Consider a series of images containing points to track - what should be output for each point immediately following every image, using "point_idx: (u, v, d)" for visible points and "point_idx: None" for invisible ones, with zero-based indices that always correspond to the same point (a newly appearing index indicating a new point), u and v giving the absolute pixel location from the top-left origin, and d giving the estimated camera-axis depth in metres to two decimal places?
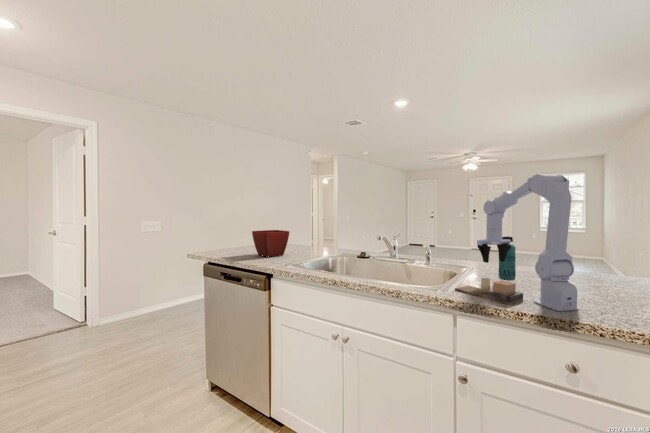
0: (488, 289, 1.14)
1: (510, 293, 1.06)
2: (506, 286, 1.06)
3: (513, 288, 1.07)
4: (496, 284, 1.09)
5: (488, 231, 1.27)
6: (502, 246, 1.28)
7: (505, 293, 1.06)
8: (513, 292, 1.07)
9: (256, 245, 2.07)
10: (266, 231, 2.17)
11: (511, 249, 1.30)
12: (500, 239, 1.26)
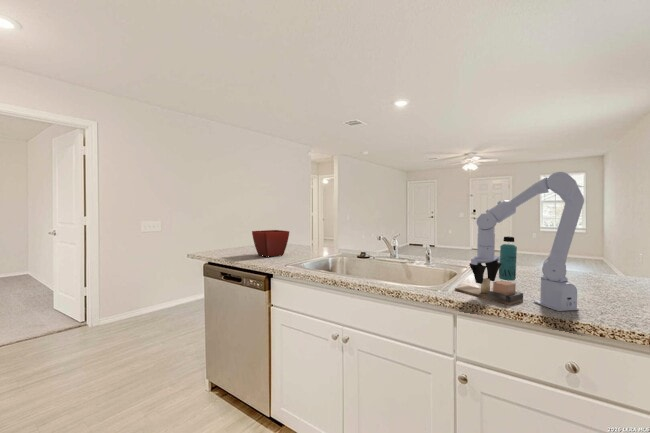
0: (488, 289, 1.14)
1: (510, 293, 1.06)
2: (506, 286, 1.06)
3: (513, 288, 1.07)
4: (496, 284, 1.09)
5: (481, 248, 1.13)
6: (492, 264, 1.16)
7: (505, 293, 1.06)
8: (513, 292, 1.07)
9: (256, 245, 2.07)
10: (266, 231, 2.17)
11: (512, 249, 1.30)
12: (493, 257, 1.13)
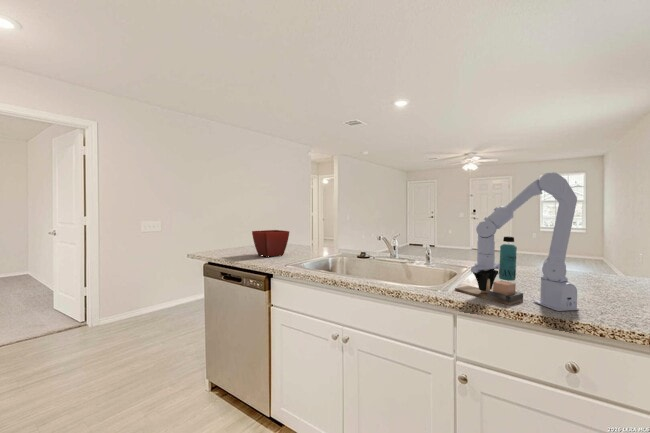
0: (488, 289, 1.14)
1: (510, 293, 1.06)
2: (506, 286, 1.06)
3: (513, 288, 1.07)
4: (496, 284, 1.09)
5: (481, 256, 1.13)
6: (489, 272, 1.15)
7: (505, 293, 1.06)
8: (513, 292, 1.07)
9: (256, 245, 2.07)
10: (266, 231, 2.17)
11: (512, 249, 1.30)
12: (493, 265, 1.13)
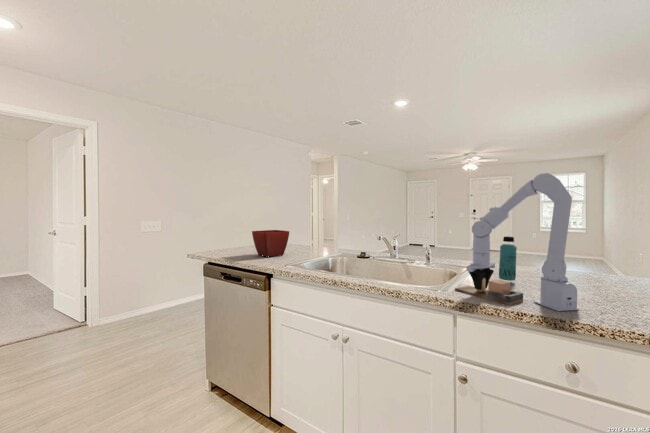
0: (483, 288, 1.15)
1: (505, 292, 1.08)
2: (501, 285, 1.07)
3: (508, 287, 1.09)
4: (491, 283, 1.10)
5: (476, 255, 1.15)
6: (484, 271, 1.17)
7: (500, 292, 1.08)
8: (508, 291, 1.09)
9: (256, 245, 2.07)
10: (266, 231, 2.17)
11: (512, 249, 1.30)
12: (489, 264, 1.14)
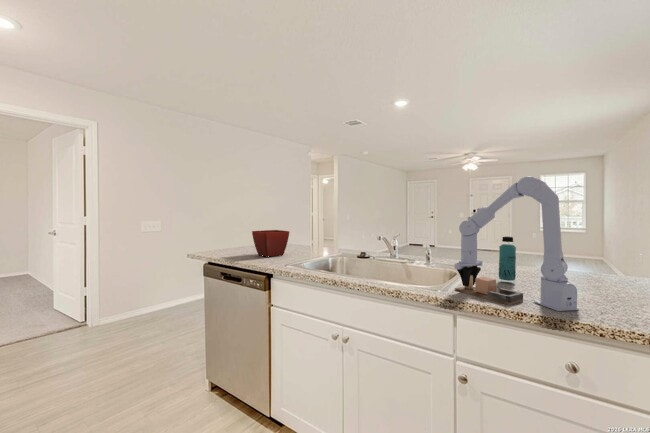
0: (471, 285, 1.20)
1: (491, 288, 1.12)
2: (487, 282, 1.12)
3: (494, 284, 1.13)
4: (478, 280, 1.15)
5: (464, 253, 1.19)
6: (472, 269, 1.21)
7: (486, 288, 1.12)
8: (494, 287, 1.13)
9: (256, 245, 2.07)
10: (266, 231, 2.17)
11: (511, 249, 1.30)
12: (476, 262, 1.19)
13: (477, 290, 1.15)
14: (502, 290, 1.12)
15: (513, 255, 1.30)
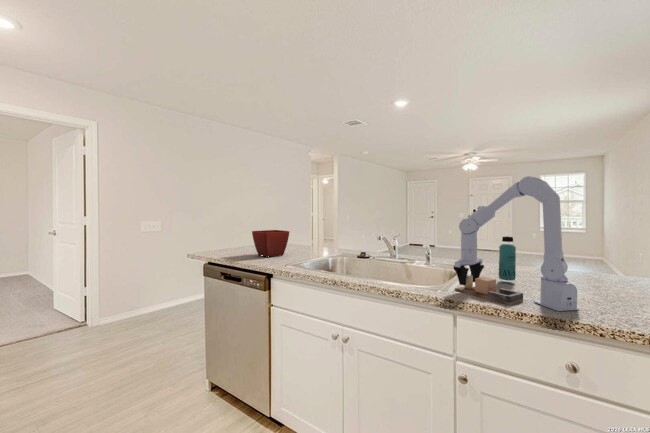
0: (471, 285, 1.20)
1: (491, 288, 1.12)
2: (487, 282, 1.12)
3: (493, 284, 1.13)
4: (478, 280, 1.15)
5: (464, 251, 1.19)
6: (475, 266, 1.22)
7: (486, 288, 1.12)
8: (494, 287, 1.13)
9: (256, 245, 2.07)
10: (266, 231, 2.17)
11: (511, 249, 1.30)
12: (476, 260, 1.19)
13: (477, 290, 1.15)
14: (502, 290, 1.12)
15: (513, 255, 1.30)
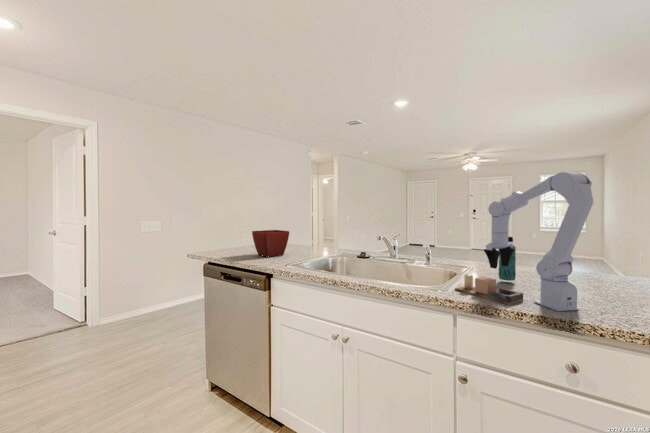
0: (471, 285, 1.20)
1: (491, 288, 1.12)
2: (487, 282, 1.12)
3: (493, 284, 1.13)
4: (478, 280, 1.15)
5: (495, 234, 1.18)
6: (506, 250, 1.21)
7: (486, 288, 1.12)
8: (494, 287, 1.13)
9: (256, 245, 2.07)
10: (266, 231, 2.17)
11: None
12: (507, 243, 1.18)
13: (477, 290, 1.15)
14: (502, 290, 1.12)
15: (513, 255, 1.30)
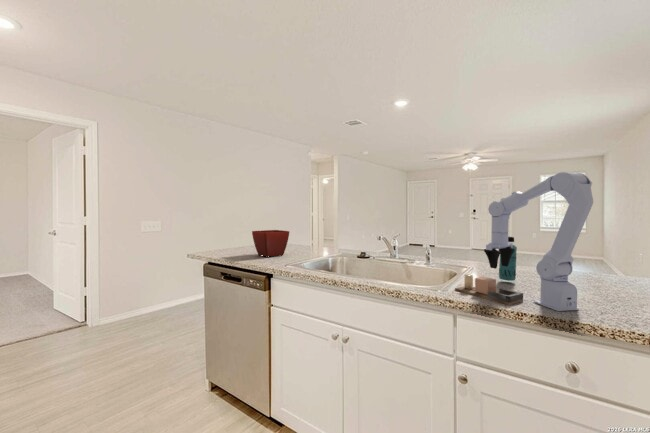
0: (471, 285, 1.20)
1: (491, 288, 1.12)
2: (487, 282, 1.12)
3: (493, 284, 1.13)
4: (478, 280, 1.15)
5: (495, 234, 1.18)
6: (506, 250, 1.21)
7: (486, 288, 1.12)
8: (494, 287, 1.13)
9: (256, 245, 2.07)
10: (266, 231, 2.17)
11: None
12: (507, 243, 1.18)
13: (477, 290, 1.15)
14: (502, 290, 1.12)
15: (514, 255, 1.30)
